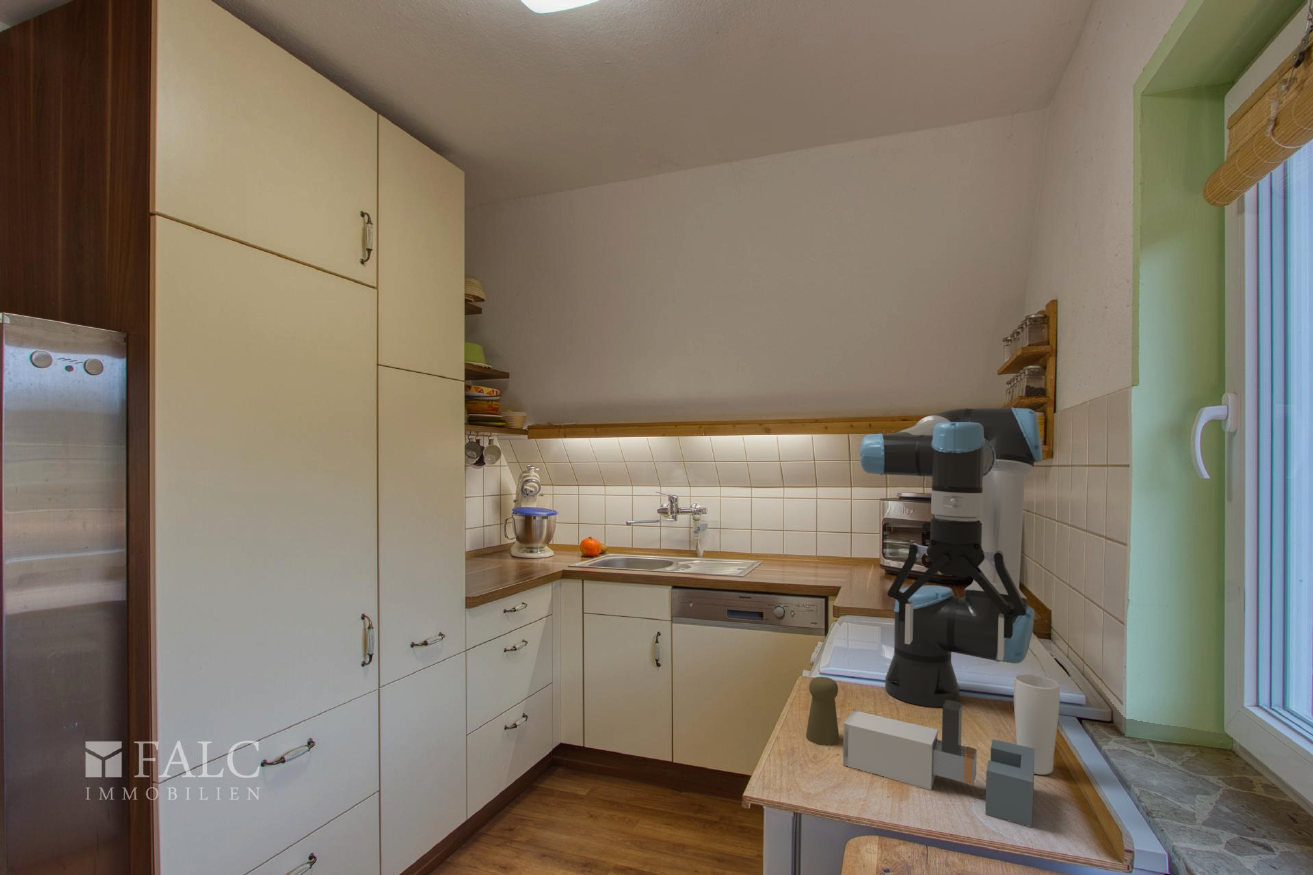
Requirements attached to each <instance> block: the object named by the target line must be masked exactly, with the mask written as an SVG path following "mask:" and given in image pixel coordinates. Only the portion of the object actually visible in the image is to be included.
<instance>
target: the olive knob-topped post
mask: <svg viewBox="0 0 1313 875" xmlns="http://www.w3.org/2000/svg"><path fill="white" fill-rule="evenodd" d="M808 689H809V693H810V695H811V702H810V706H809V707H810V708H809V715H808V721H807V726H806V733H805V737H806V739H807V740H808V742H811V743H812V742H813V744H815V743H816V744H815V745H818V746H823V745H830V746H835V745H838V744H839V742H840V734H839V725H838V723H839V722H838V716H837V706H836V698H837V696H838V694H839V693H838V692H839V686H838V684H837V682H836V681H835V679H832V678H830V677H827V676H815V677H812V679H811V680H810V681H809V686H808Z"/></svg>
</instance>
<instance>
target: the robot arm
mask: <svg viewBox="0 0 1313 875" xmlns="http://www.w3.org/2000/svg"><path fill="white" fill-rule="evenodd" d="M1040 428H1041V427H1040V424H1039V420H1038V414H1037V413H1036V412H1035V411H1034V410H1033V409H1031V408H1024V407H1022V408H1020V407H1018V408H1016V407H1002V408H1001V407H993V408H992V407H991V408H989V407H986V408H984V407H982V408H981V407H979V408H978V407H977V408H974V407H973V408H967V407H966V408H964V407H963V408H962V407H961V408H955V409H948V410H945V411H941V412H937V413H935V414H930V415H928V416H925V417H923V418H921V419H920V420H919V421H918V422H916V424H915V425H913V426H911V427H909V428H906V429H903V430H900V431H897V432H894V433H885V434H884V433H877V434H872V433H871V434H867V435H865V436H864V437H863V438H862V441H861V442H860V443H861V444H860V448H859V449H860V451H859V458H860V461H859V462H860V465H861V468H862V470H863V471H864V472H865V473H867V474H875V475H879V476H883V475H885V476H886V475H890V476H891V475H892V476H913V477H915V476H917V477H928V478H931V496H930V497H931V498H930V499H931V500H930V501H931V504H930V513H931V514H932V515H934V517H932V518H931V519H930V534H929V536H930V540H929V542H930V543H929V545H928V546H925V545H920V544H919V543H917V542H914V543H912V544H910V545H909V548H908V554H907V558H906V560H905V561H904V563H903V565H902V567H901V568H900V570H899V572H898V574H897V576H896V578H895V579H894V580H893V582H892V584H891V586H890V587H889V589H888V591H887V593H886V594H887V596H888V598H891V599H892V598H893V599H894V600H895V604H894V609H893V611H894V633H893V634H894V640H893V641H894V646H893V647H894V649H893V651H894V652H893V656H892V659H891V661H890V665H889V667H888V669H887V672H886V675H885V681H884V684H885V686H884V688H885V691H886V693H888V694H889V695H890V696H892V697H894V698H896V699H897V700H899V701H903V702H906V703H908V704H913V705H917V706H921V707H923V706H924V707H931V708H938V707H939V708H943V706H944V703H945V701H946V700H951V701H956V702H960V692H961V691H960V686H959V683H958V679H957V677H956V673H955V669H954V666H953V664H952V653H954V654H960V655H965V656H971V657H976V658H981V659H986V660H991V661H995V662H997V663H999V662H1001V663H1002V662H1003V663H1008V664H1009V663H1010V664H1020V663H1022V662H1023V661H1025V658H1026V657H1027V654H1028V651H1029V648H1030V644H1031V641H1032V636H1033V631H1034V624H1035V622H1034V620H1035V614H1036V612H1035V609H1034V608H1033V607H1031V606H1029V605H1028V604H1027V603H1028V602H1027V601H1028V599H1027V598H1028V597H1026V595H1025V594H1024V593H1023V592H1022V590H1021V589H1020V578H1021V577H1020V575H1021V555H1022V540H1023V538H1022V536H1023V522H1024V521H1023V519H1024V502H1025V486H1026V484H1025V482H1026V477H1028V475H1030V474H1031V473H1032V472H1033V471H1034V469H1035V468H1034V466H1035V464H1036V463H1039V462H1042V461H1043V445H1042V436H1041V429H1040ZM925 554H926V555H927V557H928V558H929V559H930V561H931V562H932V565H931V566H930V567H928V568H927V569H926V570H925V571H924V572H923V573H922V575H920V576H919V577H918V578H917V579H916V580H915V581H914V582H913V583H911V585H910V586H908V587H904V588H902V586H903V585H904V582H905V581H906V580H907V577H908V576H909V574H910V573H911V571H912V569H913V568H914V566H915V564H916V563H917V560H918V559H921V558H922V557H923V556H924V555H925ZM937 572H938V573H940V574H941V575H943V576H948V577H949V576H955V577H958V578H967V577H971V578H972V579H973V581H972V583H971V584H970V585H969V584H968V586H967V587H966V588H964V595H963V597H961V596H960V597H959V596H954V591H953V589H952V588H950V587H948V586H943V585H931V584H930V585H925V584H926V583H927V582H928V581H929V580H930V579H931V578H933V577H934V575H936V574H937ZM1027 605H1028V606H1027Z"/></svg>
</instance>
